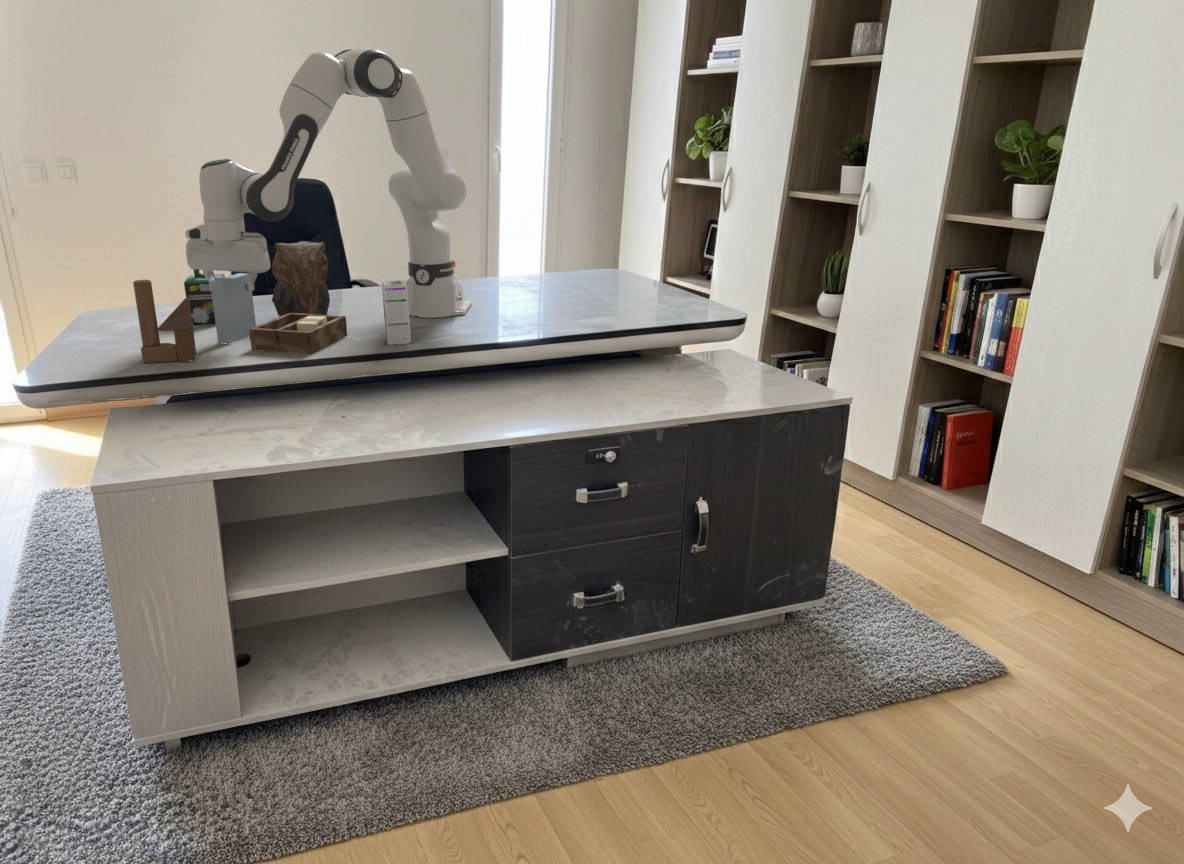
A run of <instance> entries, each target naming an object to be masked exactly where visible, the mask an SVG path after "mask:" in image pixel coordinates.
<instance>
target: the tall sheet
mask: <svg viewBox="0 0 1184 864" xmlns="http://www.w3.org/2000/svg"><path fill="white" fill-rule="evenodd" d="M249 278H250V277H248V276H247V272H237V273H235V274H231V275H229V276H225V277H224V278H221V279H217V280H214V281H211V282H210V284H211V292H212V300H213V307H214V315H215V323H214V324H215V330H216V336H217V338H216V339H217V344H218V343H227V344H230V343H232V342H235V341H237V342H239V341H238V340H240V339H242V340H244V339H243V338H245V339H246V337H247V338H249V337H250V332H249V329H250V328H253V327H255V326H257V325H256V314H255V307H254V296H253V291H246V290H245V286H244V284H245V283H248V280H249ZM248 336H249V337H248ZM240 341H241V340H240ZM235 343H236V342H235ZM230 345H231V344H230Z"/></svg>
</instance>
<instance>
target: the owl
mask: <svg viewBox="0 0 1184 864" xmlns="http://www.w3.org/2000/svg"><path fill="white" fill-rule="evenodd" d="M274 248H275V250H276V252H275V255H274V257H273V259H272V265H271V271H272V275H273V277H274V278H275V279H276V281H277V283H276V285H275V286H274V288H273V295H272V298H271V302H272V303H273V306H274V308H275V310H276V312H277V313H276V314H277V315H278V317H280V316H283V315H285V314H288V313H301V314H317V315H328V311H329V307H330V302H331V301H330V300H331V299H330V293H329V289H328V287H327V276H328V274H329V264H328V263H329V260H328V258H327V256H326V253H325V251H326V244H325V242H324V241H320V242H316V241H314V242H312V241H309V240H308V241H306V240H301V241H299V242H292V243H284V242H278V243H277V242H276V243H274Z"/></svg>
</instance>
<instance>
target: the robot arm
mask: <svg viewBox="0 0 1184 864" xmlns="http://www.w3.org/2000/svg"><path fill="white" fill-rule="evenodd" d="M295 72H296V73H295V74H294V76H293V77H292V79H291V81H290V82H289V84H288V86H287V88H286V90H285V92H284V95H283V97H282V100H281V102H280V103H281V104H280V105H279V106H280V107H279V110H278V111H279V117H280V120H281V122H282V125H283V137H282V141H281V143H280V145H279V148H278V149H277V151H276V153H275V155H274V157H273V160H272V162H271V164H270V166H269V168H268V169H267V170H266V172H265V173H260V172H258V171H255V170H251V169H249V168H246V167H244V166H242V165H241V164H238V163H237V162H236V161H234V160H233V159H231V158H226V159H225V158H223V159H215V160H211V161H208V162H205V163H204V164H203V165H202V166H201V167H200V170H199V176H198V177H199V178H198V179H199V194H200V201H201V203H202V206H203V219H202V220H203V224H200V225H197V226H194V227H192V228H189V229H186V230H185V233H184V234H185V237H186V239H187V242H186V244H185V255H186V262H187V265H188V267H189V268H190V269H191V270H193V269H197V270H200V271H201V270H202V274H203V275H204V276H205V277H206V279H207V280H208V282H209V287H210V289H211V284H210V282H211V281H214V280H215V279H214V277H213V275H212V273H214V271H215V272H216V271H218V272H219V271H220V272H221V271H222V272H237V273H246V274H247V276H248V277H250V278H249V280H248V283H245V284H244V286H245V290H246V291H252V292H253V291H254V290H255V282H256V279H257V277H258V274H262V273H266V272H269V270H270V269H271V268H272V265H271V260H270V255H269V251H268V242H267V239H266V238H265V236H264V235H263V234H261V233H259V232H250V231H249V232H248V231H246V228H245V227H246V226H245V219H244V215H245V214H249V213H250V214H253V215H255V216H256V217H257V218H258V219H261V220H263V221H266V222H270V223H271V222H278V221H281V220H283V219H284V218H285V217H287V216H289V214H290V213H291V211H292V208H293V206H294V202H295V190H296V189H295V188H296V183H297V181H298V179H299V176H300V174H301V172H302V170H303V167H304V166H305V164H306V161H307V160H308V156H309V154H311V153H310V152H311V151H312V148H313V146H314V143H315V142H316V140H317V138H318V136H319V134H320V133H321V131H322V129H323V128H324V126H325V125H326V122H327V121H328V120H329V118H330V116H331V115H332V112H333V110H334V109H335V107H336V104H337V102H338V100H339V99H340V98H341V97H342V96H343V95H344V94H346V95H350V96H355V97H360V98H369V97H370V98H376V99H377V100H378V101H379V103H380V105H381V107H382V112H383V115H384V120H385V123H386V127H387V129H388V133H389V137H390V140H391V144H392V146H393V147H392V148H393V150H394V151H395V152H396V154H397V155H398V156H399V157H400V158H401V159H402V160H403V162H405V164H406V166H404V167H401V168H398V169H395V171H394V172H393V173H392V174H391V175H390V177H389V180H388V191H389V194H390V196H391V198H392V199H393V201H395V202H396V204H397V206H398V207H399V210H400V212H401V215H402V218H403V221H404V225H405V227H406V232H407V240H408V241H407V242H408V254H409V261H408V263H407V264H408V265H407V270H408V273H407V274H408V276H409V277H408V279H406V280H405V283H406V285H407V294H408V306H409V316H410V315H411V317H415V316H418V317H417V318H445V317H452V315H453V316H464V315H466V314H467V312H468V311H469V309H470V308H471V307H472V305H473V303H472V301H471V300H469V299H468V300H467V299H464V288H463V284H462V283H461V282H460V281H459V280H458V279H457V278H456V276H455V275H454V273H455V271H454V268H455V267H456V264H457V263H456V260H455V259H453V260H452V259H451V241H450V240H451V239H450V238H451V237H450V236H451V235H450V232H449V229H448V228H447V227H446V226H445V225H444V223H443V221H442V219H441V217H440V215H439V212H449V211H453V210H456V209H458V208H460V207H461V206H462V205H463V204H464V202H465V199H466V198H467V185H466V183H465V180H464V179H463V177H462V176H461V175H460V174H459V173H457V171H456V170H454V168H453V167H452V165H451V164H450V163H449V161H448V160H447V158H446V157H445V155H444V154H445V153H443V151H442V149H441V147H440V145H439V143H438V140H437V137H436V135H435V131H434V128H433V124H432V121H431V117H430V114H429V110H428V105H427V102H426V99H425V97H424V94H423V91H422V89H421V86H420V84H419V81H418V79H417V77H416V76H415V74H414V73H413V72H412V71H410V70H409V69H405V68H402V67H401V68H399V67H398V66H397V65H396V63H395V62H394V60H393V59H392V58H391V57H390V56H389V55H388V54H387V53H385V52H383V51H382V50H379V49H374V48H372V49H370V48H365V47H362V48H361V47H359V48H355V49H350V48H349V49H345V50H342V51H340V52H338V53H336V54H334V55H331V54H329V53H327V52H324V51H323V52H322V51H315V52H313V53H311V54H310V55H308V56H307V58H306V59H305V60H304V62H302V64H301V66H300V67H299V68H298V70H297V71H295ZM214 274H215V273H214Z"/></svg>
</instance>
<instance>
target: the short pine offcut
mask: <svg viewBox="0 0 1184 864" xmlns="http://www.w3.org/2000/svg"><path fill="white" fill-rule="evenodd" d="M325 323H327V316H307V317H306V318H304V319H303V320H301V321H299V322H298V323H297V331H306V332H307V331H309V330H311V329H314V328H316V327H318V326H320V325H322V324H325Z"/></svg>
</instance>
